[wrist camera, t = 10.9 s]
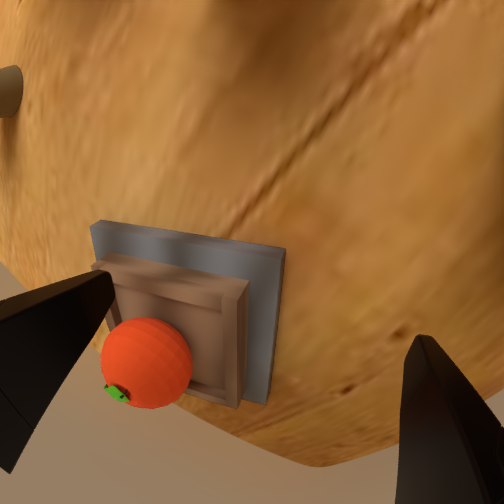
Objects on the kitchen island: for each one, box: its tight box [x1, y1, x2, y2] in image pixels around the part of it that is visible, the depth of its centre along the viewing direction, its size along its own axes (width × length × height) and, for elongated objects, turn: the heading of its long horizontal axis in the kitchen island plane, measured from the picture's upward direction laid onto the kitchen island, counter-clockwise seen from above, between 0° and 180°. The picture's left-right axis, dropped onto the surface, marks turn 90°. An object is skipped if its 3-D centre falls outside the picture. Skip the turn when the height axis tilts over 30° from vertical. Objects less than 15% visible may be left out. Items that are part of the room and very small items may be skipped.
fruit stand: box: [90, 220, 286, 409], centre depth 24 cm, size 16×16×4 cm
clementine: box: [101, 317, 193, 409], centre depth 20 cm, size 8×7×7 cm
